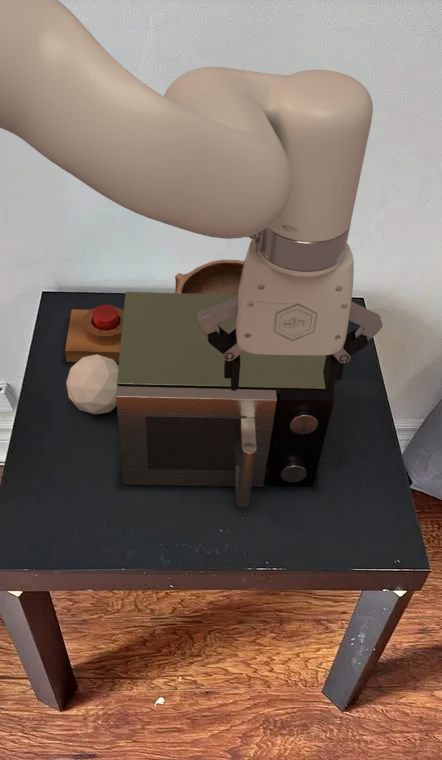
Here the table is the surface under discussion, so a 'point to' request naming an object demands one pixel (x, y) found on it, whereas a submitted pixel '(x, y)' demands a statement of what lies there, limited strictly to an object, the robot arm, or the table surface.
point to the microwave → (206, 370)
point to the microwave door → (195, 436)
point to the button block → (92, 337)
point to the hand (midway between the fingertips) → (281, 381)
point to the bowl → (212, 278)
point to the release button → (105, 317)
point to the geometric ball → (93, 384)
